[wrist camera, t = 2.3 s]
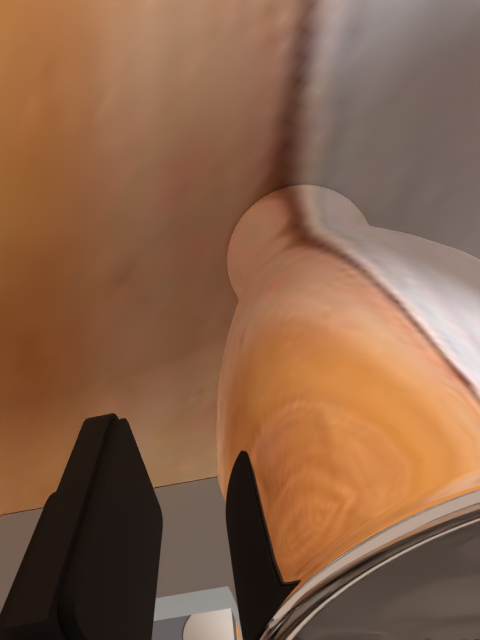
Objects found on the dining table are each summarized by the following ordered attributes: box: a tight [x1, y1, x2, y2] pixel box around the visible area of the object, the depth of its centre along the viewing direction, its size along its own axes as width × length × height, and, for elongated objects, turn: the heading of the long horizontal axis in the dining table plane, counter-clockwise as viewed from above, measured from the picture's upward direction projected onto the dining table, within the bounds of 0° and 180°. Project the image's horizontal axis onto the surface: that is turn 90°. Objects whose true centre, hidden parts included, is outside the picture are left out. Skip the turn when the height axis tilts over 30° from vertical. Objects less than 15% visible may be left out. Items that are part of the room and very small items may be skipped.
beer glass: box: [216, 185, 480, 640], centre depth 11 cm, size 7×7×15 cm
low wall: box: [0, 477, 231, 621], centre depth 21 cm, size 28×2×6 cm, turn 101°
